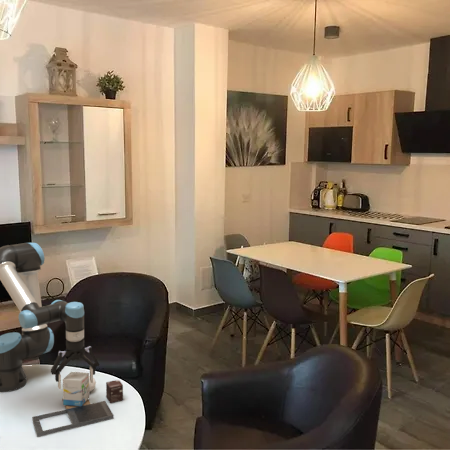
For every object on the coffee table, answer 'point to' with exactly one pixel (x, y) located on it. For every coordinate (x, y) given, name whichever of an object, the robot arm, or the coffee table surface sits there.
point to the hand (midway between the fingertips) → (75, 384)
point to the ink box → (76, 388)
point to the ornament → (91, 384)
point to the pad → (76, 406)
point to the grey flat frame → (76, 417)
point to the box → (114, 391)
